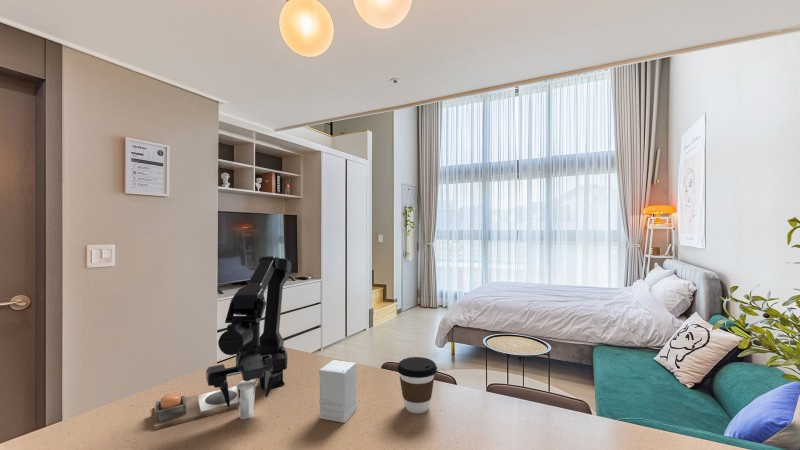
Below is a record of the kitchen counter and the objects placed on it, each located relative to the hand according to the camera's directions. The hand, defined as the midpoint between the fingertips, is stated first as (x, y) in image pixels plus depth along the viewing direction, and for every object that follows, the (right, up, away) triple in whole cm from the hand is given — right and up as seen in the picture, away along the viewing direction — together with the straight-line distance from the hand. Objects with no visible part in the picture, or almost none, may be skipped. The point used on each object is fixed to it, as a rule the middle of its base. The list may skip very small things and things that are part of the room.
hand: (247, 401), depth 92 cm
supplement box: (+23, -4, +1) cm, 24 cm away
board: (-14, -4, +5) cm, 16 cm away
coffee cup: (+44, -4, +4) cm, 44 cm away
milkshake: (0, -4, 0) cm, 4 cm away
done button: (-20, -2, 0) cm, 20 cm away
